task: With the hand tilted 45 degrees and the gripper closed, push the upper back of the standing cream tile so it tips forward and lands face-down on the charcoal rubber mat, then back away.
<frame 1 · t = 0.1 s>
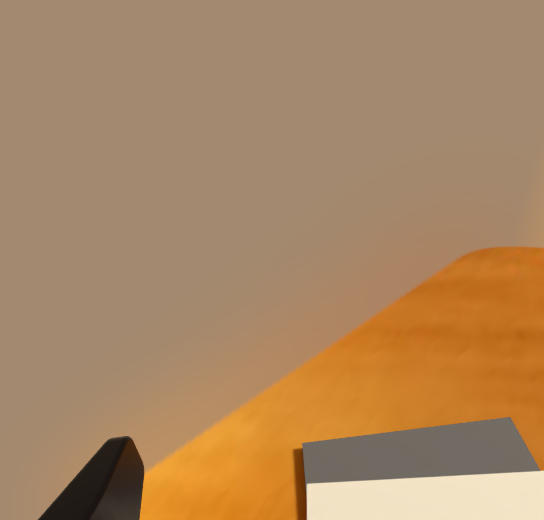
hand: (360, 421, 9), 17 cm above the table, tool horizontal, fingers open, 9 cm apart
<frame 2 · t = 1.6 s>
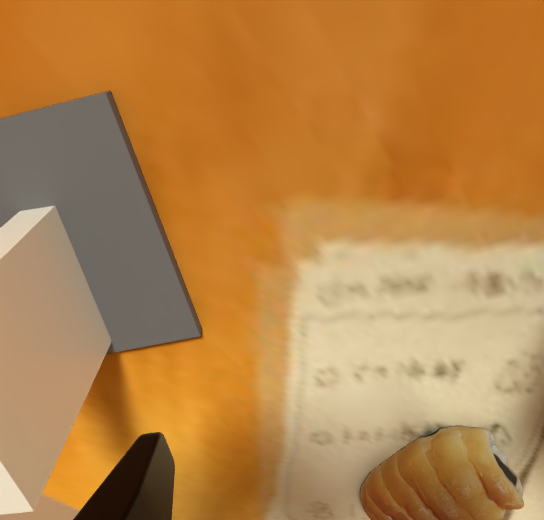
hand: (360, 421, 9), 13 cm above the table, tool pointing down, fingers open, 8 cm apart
tile: (69, 281, 22), point 1 cm above the table, touching mat
pastry: (437, 461, 30), on the table
mat: (11, 258, 22), on the table
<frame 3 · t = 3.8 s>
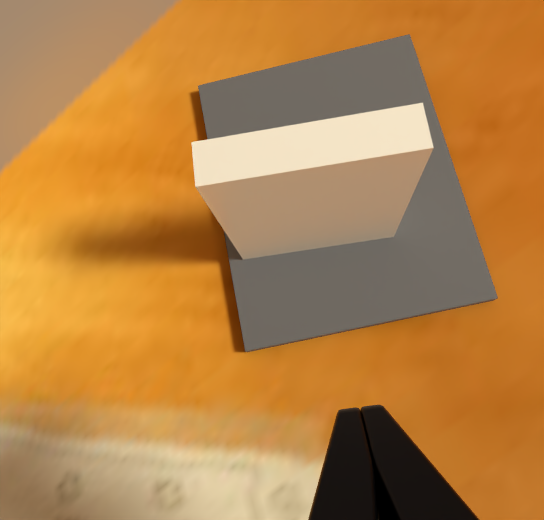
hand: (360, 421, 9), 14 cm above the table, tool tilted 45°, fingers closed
tile: (315, 233, 24), point 1 cm above the table, touching mat
mat: (333, 186, 25), on the table
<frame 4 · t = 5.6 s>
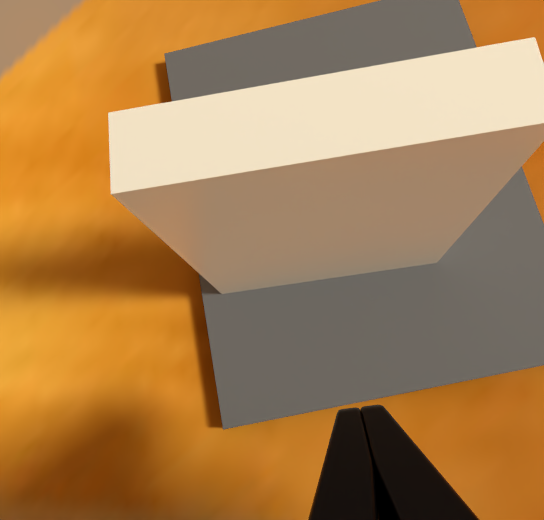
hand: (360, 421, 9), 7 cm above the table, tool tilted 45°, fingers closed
tile: (323, 256, 17), point 1 cm above the table, touching mat
mat: (348, 190, 18), on the table
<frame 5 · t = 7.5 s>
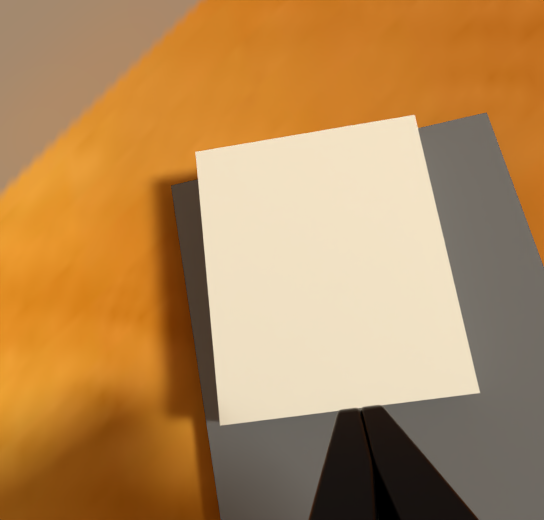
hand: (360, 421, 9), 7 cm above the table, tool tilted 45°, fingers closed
tile: (346, 408, 14), point 1 cm above the table, tilted 90°, touching mat
mat: (374, 350, 16), on the table
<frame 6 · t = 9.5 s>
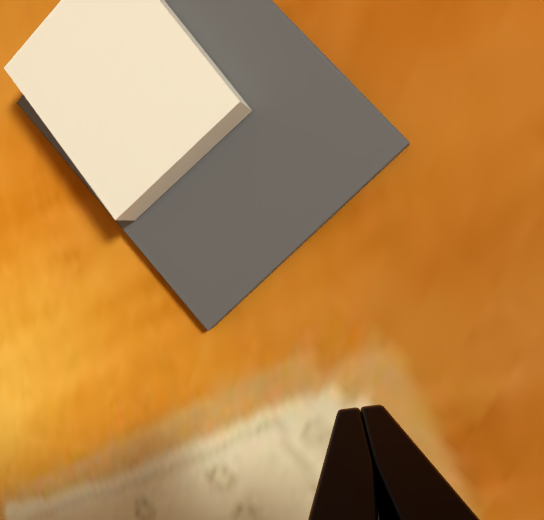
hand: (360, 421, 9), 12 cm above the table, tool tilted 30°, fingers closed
tile: (183, 166, 21), point 1 cm above the table, tilted 90°, touching mat
mat: (196, 123, 22), on the table
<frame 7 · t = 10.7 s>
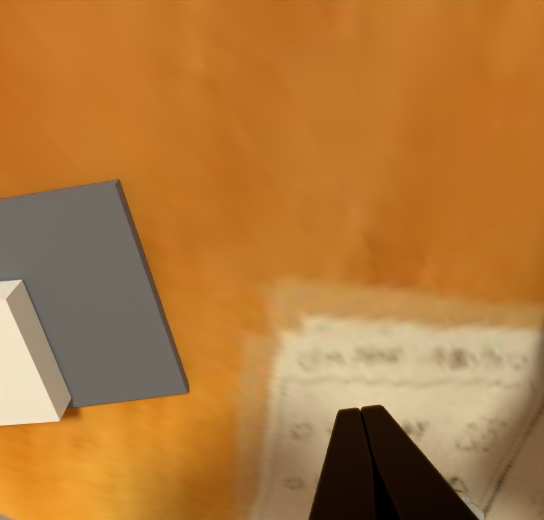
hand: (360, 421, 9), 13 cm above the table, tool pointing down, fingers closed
tile: (42, 353, 23), point 1 cm above the table, tilted 90°, touching mat
pastry: (422, 517, 33), on the table
mat: (12, 316, 24), on the table
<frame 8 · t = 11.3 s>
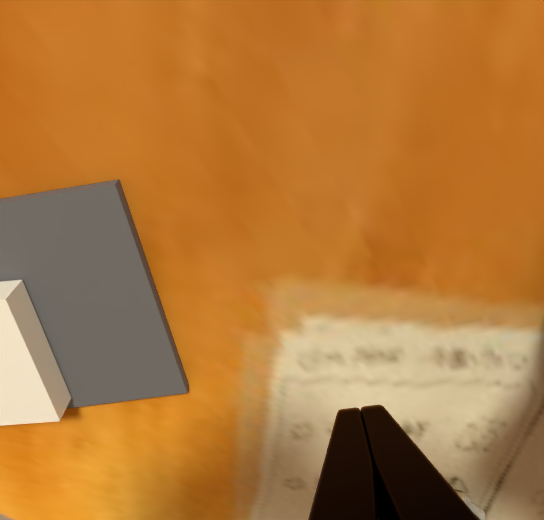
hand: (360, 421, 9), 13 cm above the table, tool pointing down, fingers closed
tile: (42, 353, 23), point 1 cm above the table, tilted 90°, touching mat
pastry: (423, 517, 33), on the table
mat: (12, 316, 24), on the table
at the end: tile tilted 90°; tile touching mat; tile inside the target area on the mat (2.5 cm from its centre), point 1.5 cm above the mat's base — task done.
